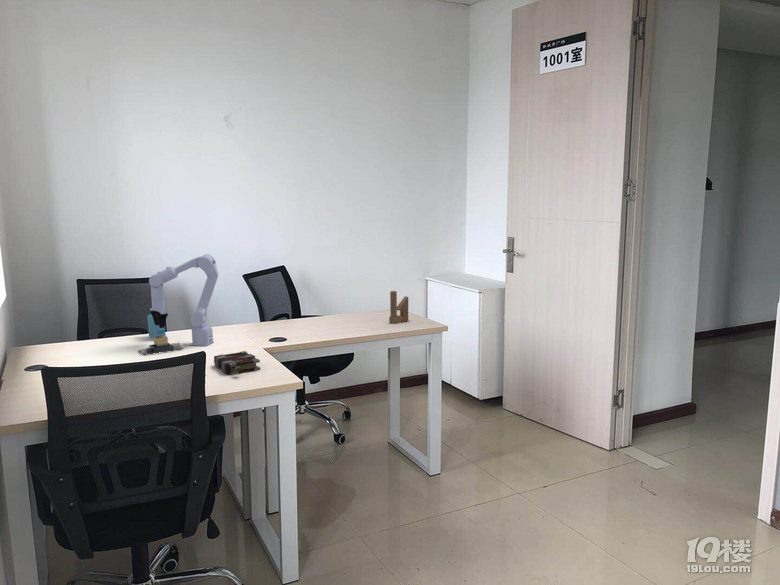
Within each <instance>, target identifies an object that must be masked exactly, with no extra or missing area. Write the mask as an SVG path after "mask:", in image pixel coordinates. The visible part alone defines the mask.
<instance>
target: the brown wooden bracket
mask: <svg viewBox="0 0 780 585" xmlns="http://www.w3.org/2000/svg"><path fill="white" fill-rule="evenodd" d="M389 292H390V294H389V298H390V300H389V301H390V304H389V306H390V309H389V310H390V316H389V318H388V320H389V322H390V324H392V323H394V324H399V322H401V323H407V322H406V321H408V322H409V296H404V297H403V298H402V299H401V301H400V302H399V304H398V301H397V299H398V297H397V296H398V295H397V293H398V291H396V290H391V291H389ZM398 311H399V315H398Z"/></svg>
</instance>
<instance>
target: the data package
mask: <svg viewBox="0 0 780 585" xmlns="http://www.w3.org/2000/svg"><path fill="white" fill-rule="evenodd" d="M146 318H147V328H148V336H150V337H151V339H152V340H154V337H155V336H162V335H165V336H167V335H166V326H165V327H164V328H160V327H159V325H155V323H154V320H153V317H152V315H151V313H150V314H147V316H146ZM150 337H149V338H150Z"/></svg>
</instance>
